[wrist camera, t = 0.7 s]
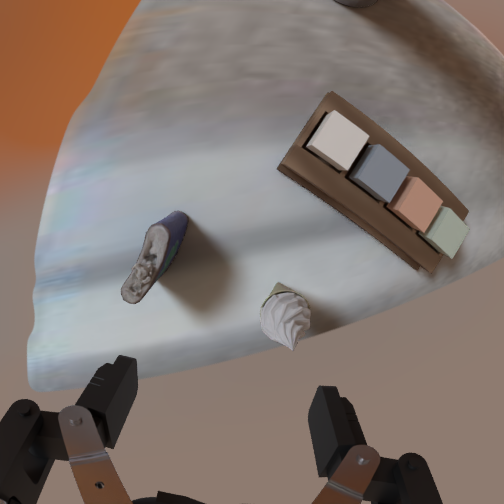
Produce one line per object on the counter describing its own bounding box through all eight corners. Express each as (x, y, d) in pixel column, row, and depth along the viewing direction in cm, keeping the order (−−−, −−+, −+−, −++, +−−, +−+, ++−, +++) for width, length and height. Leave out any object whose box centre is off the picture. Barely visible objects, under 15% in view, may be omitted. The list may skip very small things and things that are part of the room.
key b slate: (368, 145, 30) (379, 144, 27) (397, 169, 30) (409, 169, 28) (348, 177, 31) (358, 178, 28) (378, 199, 31) (389, 203, 28)
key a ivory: (326, 115, 29) (334, 110, 26) (359, 138, 30) (369, 136, 27) (305, 146, 30) (311, 144, 27) (338, 170, 31) (347, 170, 28)
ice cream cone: (279, 256, 37) (298, 312, 23) (306, 284, 38) (337, 350, 24) (249, 283, 38) (249, 351, 24) (276, 310, 39) (290, 385, 25)
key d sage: (435, 204, 31) (449, 208, 29) (455, 224, 32) (469, 229, 29) (418, 233, 32) (431, 239, 29) (439, 252, 33) (452, 258, 30)
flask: (174, 206, 36) (145, 222, 25) (195, 218, 36) (175, 239, 26) (143, 270, 38) (109, 306, 27) (162, 281, 38) (135, 321, 28)
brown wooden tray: (326, 94, 32) (335, 85, 28) (454, 202, 35) (471, 206, 32) (276, 168, 34) (279, 169, 31) (413, 268, 38) (428, 278, 34)
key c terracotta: (405, 176, 31) (418, 177, 28) (429, 198, 31) (443, 201, 28) (386, 206, 32) (398, 210, 29) (411, 227, 32) (424, 232, 29)
